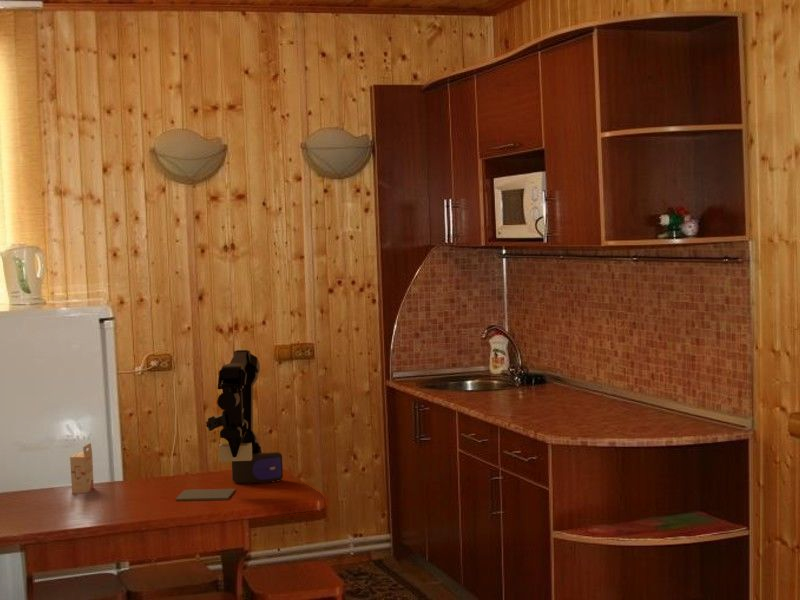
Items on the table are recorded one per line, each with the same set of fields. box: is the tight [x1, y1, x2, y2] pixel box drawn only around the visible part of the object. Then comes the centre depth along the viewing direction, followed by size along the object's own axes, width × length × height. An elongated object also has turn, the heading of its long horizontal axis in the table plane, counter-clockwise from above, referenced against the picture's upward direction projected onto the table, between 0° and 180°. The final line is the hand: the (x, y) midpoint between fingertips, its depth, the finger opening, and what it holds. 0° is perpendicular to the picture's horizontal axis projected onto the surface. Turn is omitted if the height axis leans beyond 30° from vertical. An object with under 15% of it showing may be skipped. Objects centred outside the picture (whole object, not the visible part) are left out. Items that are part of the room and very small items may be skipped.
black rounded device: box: [231, 451, 284, 484], centre depth 383 cm, size 16×5×9 cm, turn 98°
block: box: [217, 443, 252, 463], centre depth 368 cm, size 3×10×5 cm, turn 90°
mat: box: [175, 488, 236, 502], centre depth 366 cm, size 13×16×1 cm
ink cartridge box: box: [69, 442, 95, 494], centre depth 378 cm, size 9×5×15 cm, turn 179°
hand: (235, 456), depth 368 cm, fingers closed on block, 3 cm apart
